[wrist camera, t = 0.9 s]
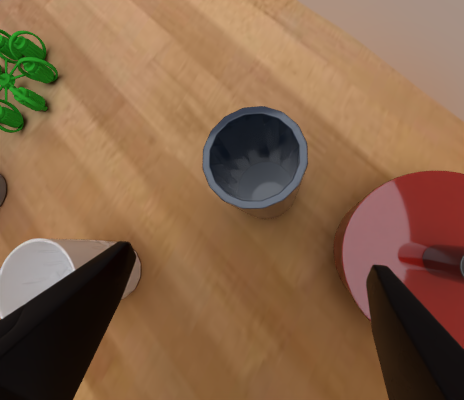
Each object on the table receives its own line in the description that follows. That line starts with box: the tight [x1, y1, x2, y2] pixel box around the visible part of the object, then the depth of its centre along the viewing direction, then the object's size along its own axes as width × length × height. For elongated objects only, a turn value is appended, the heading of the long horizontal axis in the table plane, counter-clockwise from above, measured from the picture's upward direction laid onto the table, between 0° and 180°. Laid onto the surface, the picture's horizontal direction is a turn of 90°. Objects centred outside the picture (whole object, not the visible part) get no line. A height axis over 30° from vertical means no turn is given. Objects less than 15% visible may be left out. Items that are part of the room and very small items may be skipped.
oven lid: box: [341, 171, 464, 349], centre depth 16 cm, size 13×13×5 cm
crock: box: [203, 106, 308, 219], centre depth 21 cm, size 7×7×12 cm
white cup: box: [0, 238, 141, 319], centre depth 25 cm, size 8×8×10 cm
